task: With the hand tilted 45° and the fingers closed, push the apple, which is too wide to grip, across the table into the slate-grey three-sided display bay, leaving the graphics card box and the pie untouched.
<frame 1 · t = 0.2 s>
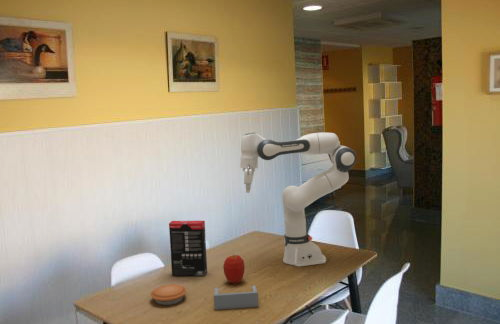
hand: (248, 191, 238), 39 cm above the table, tool pointing down, fingers open, 8 cm apart
graphics card box: (190, 274, 231), on the table
pie: (169, 300, 202), on the table
apple: (234, 282, 219), on the table
display bay: (235, 299, 199), on the table
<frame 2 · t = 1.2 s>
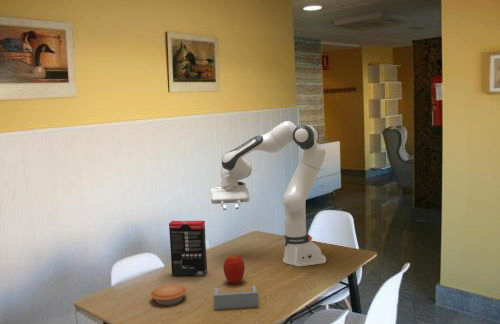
hand: (230, 209, 240), 29 cm above the table, tool tilted 45°, fingers open, 5 cm apart
nothing on the table moved.
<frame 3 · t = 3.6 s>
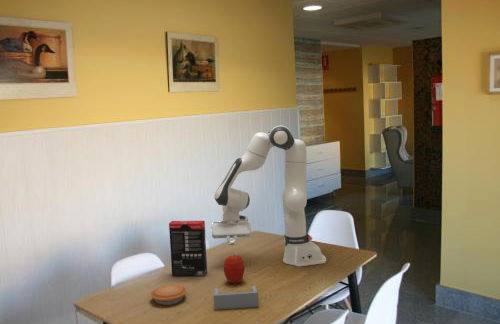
hand: (232, 244, 234), 13 cm above the table, tool tilted 45°, fingers closed
nothing on the table moved.
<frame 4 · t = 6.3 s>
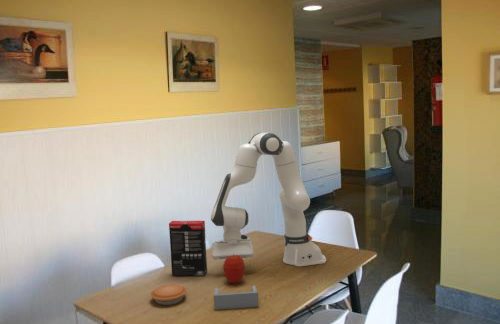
hand: (233, 265, 223), 6 cm above the table, tool tilted 45°, fingers closed, pressing on apple
apple: (234, 282, 219), on the table, touching gripper
everything else where it was.
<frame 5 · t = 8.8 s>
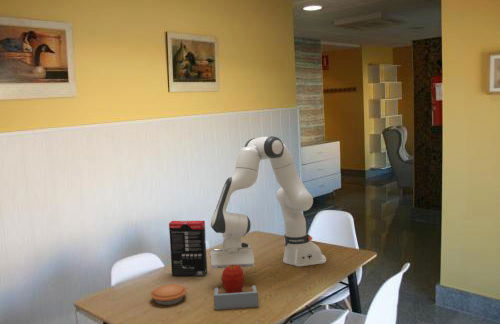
hand: (233, 276, 210), 6 cm above the table, tool tilted 45°, fingers closed, pressing on apple
apple: (233, 294, 205), on the table, touching gripper
everything else where it was.
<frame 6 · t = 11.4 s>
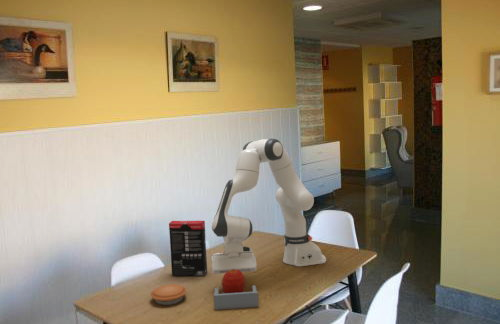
hand: (235, 280, 205), 6 cm above the table, tool tilted 45°, fingers closed
apple: (234, 299, 199), on the table
everything else where it was.
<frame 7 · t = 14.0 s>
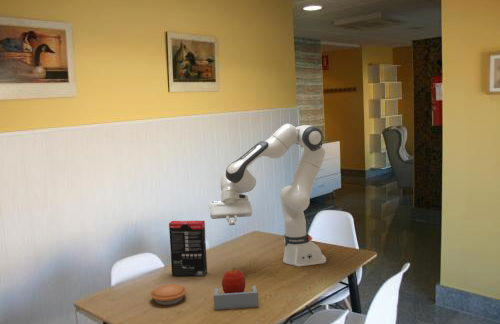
hand: (232, 224, 220), 26 cm above the table, tool tilted 45°, fingers closed
nothing on the table moved.
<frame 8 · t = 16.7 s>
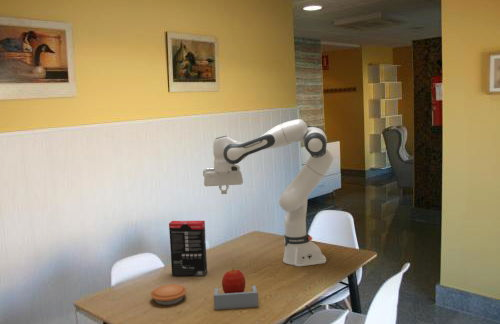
hand: (224, 193, 242), 37 cm above the table, tool pointing down, fingers closed
nothing on the table moved.
at the end: apple inside the target area on the display bay (0.8 cm from its centre), point 0.0 cm above the display bay's base; apple moved 19.4 cm from its start; the gripper is holding nothing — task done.
